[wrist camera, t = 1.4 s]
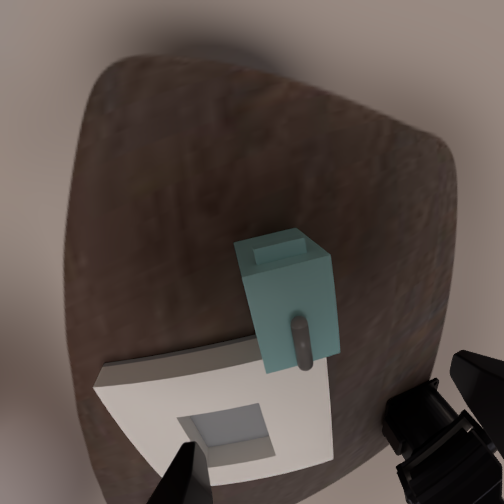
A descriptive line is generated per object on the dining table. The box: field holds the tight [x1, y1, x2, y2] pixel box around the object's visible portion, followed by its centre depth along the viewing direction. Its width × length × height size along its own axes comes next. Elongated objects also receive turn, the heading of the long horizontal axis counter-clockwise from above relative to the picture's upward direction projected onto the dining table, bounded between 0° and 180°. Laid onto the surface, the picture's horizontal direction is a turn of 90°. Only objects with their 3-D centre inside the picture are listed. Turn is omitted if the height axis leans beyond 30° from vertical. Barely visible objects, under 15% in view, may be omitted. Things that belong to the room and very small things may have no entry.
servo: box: [233, 228, 340, 374], centre depth 16 cm, size 4×7×7 cm, turn 12°
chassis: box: [93, 334, 333, 486], centre depth 21 cm, size 16×15×3 cm
